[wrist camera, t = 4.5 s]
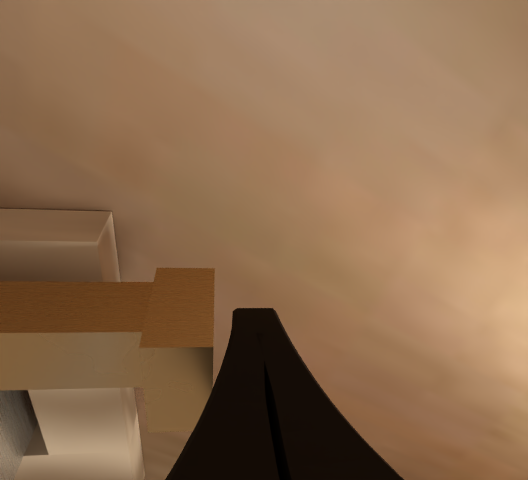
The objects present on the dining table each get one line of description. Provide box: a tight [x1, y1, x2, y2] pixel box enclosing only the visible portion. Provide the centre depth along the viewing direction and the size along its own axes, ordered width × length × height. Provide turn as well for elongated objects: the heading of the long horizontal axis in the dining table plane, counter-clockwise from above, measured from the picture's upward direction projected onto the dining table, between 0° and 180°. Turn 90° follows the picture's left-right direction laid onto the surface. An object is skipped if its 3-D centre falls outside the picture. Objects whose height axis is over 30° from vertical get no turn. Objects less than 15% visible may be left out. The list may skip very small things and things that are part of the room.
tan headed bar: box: [0, 268, 215, 433], centre depth 10 cm, size 3×10×3 cm, turn 85°
